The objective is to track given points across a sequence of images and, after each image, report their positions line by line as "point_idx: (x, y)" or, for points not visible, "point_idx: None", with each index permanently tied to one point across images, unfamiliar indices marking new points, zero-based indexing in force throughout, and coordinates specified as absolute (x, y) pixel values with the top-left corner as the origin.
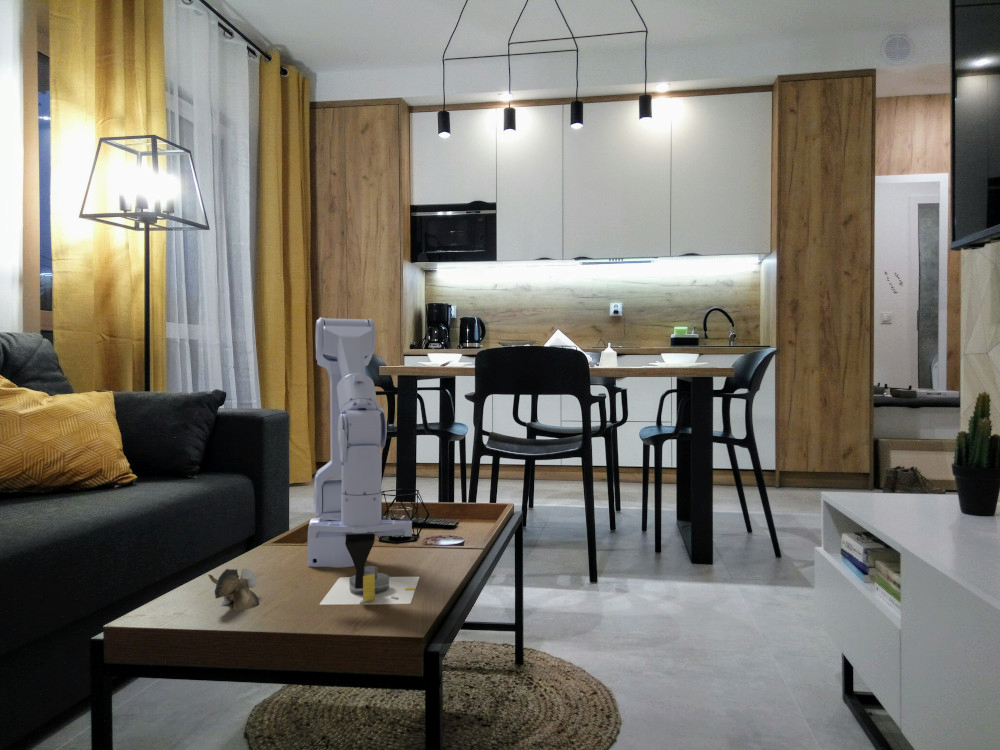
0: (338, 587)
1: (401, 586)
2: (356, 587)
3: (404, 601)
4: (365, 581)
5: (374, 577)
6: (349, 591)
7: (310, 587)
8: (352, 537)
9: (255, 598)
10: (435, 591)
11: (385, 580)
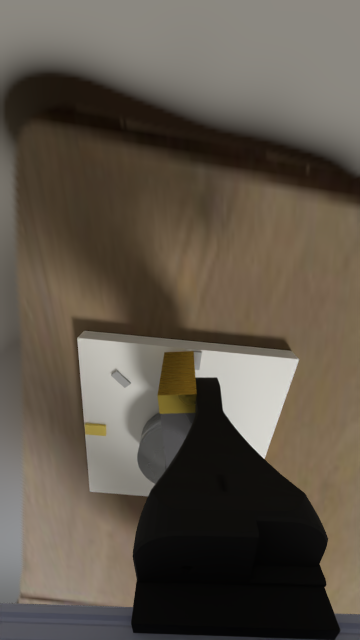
0: None
1: (117, 446)
2: (214, 378)
3: (94, 355)
4: (188, 382)
5: (159, 390)
6: None
7: (299, 480)
8: (283, 600)
9: None
10: (54, 435)
11: (143, 441)
